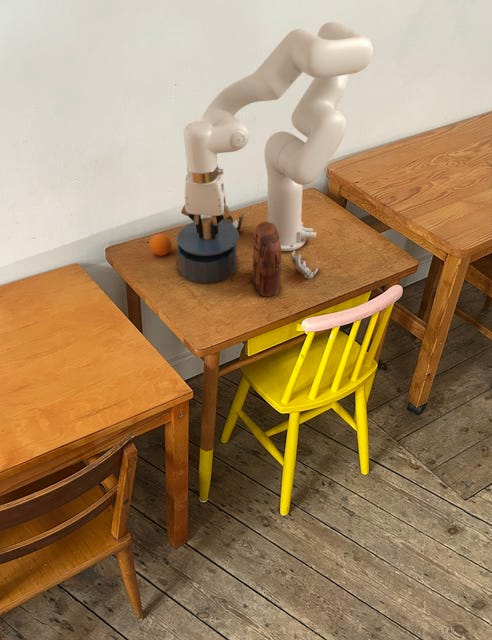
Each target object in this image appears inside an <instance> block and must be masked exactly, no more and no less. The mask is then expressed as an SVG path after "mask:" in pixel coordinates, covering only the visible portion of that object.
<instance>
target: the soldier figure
mask: <svg viewBox="0 0 492 640" xmlns="http://www.w3.org/2000/svg"><path fill="white" fill-rule="evenodd" d="M295 254H296V250H292V252H291V254H289V258H292V259H293V260H294V263H295V267H296V271H297V272H298V273H300V274H303V276H304V278H306V279H308V280H309V282H311V281H312V280H314V276H315V275H316V274H317V272H318V271H319V268H318V267H315V270H313V271H311V269H310V268H309V267H308V266H307V263H306V261H305V260H302V257H303V256H302V254H301V253H298V254H297V255H295Z"/></svg>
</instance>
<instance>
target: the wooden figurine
mask: <svg viewBox="0 0 492 640" xmlns="http://www.w3.org/2000/svg"><path fill="white" fill-rule="evenodd" d="M253 243H254V246H253V251H252V283H253V284H254V285H255V288H256V290H257V291H259V293H260V295H261V296H262V297H270V296H275V295H277V294H278V293H279V291H280V284H281V273H282V267H281V266H282V251H281V245H280V241H279V232H278V230H277V228H276V226H275V225H274V224H272V223H270V222H267V221H262V222H260V223H258V224H257V225H256V227H255V231H254V237H253Z"/></svg>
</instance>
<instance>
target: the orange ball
mask: <svg viewBox="0 0 492 640" xmlns="http://www.w3.org/2000/svg"><path fill="white" fill-rule="evenodd" d="M149 249H150V251H151V252H152V253H153V254H154V255H156V256H158V257H159V256H160V257H163V256H166V255H167V254H168V253H169V252H170V251H171V249H172V241H171V239H170V237H169V236H168V235H166V234H164V233H157V234H155V235H153V236H152V237H151V238H150V240H149Z"/></svg>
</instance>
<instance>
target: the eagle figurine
mask: <svg viewBox="0 0 492 640" xmlns="http://www.w3.org/2000/svg"><path fill="white" fill-rule="evenodd" d="M244 215H245V213H244V212H243V213H242V214H241V216H239V217H238V219H235V220H234V218H233V217H232V215H230V216H229V217H227V218H224V219H223V220H221V221H224V222H227V223H229V224H231V225H233V226H234V227H235V228H236V229H237V231H238V233H239V234H241V229H242V224H243V219H244Z"/></svg>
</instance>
